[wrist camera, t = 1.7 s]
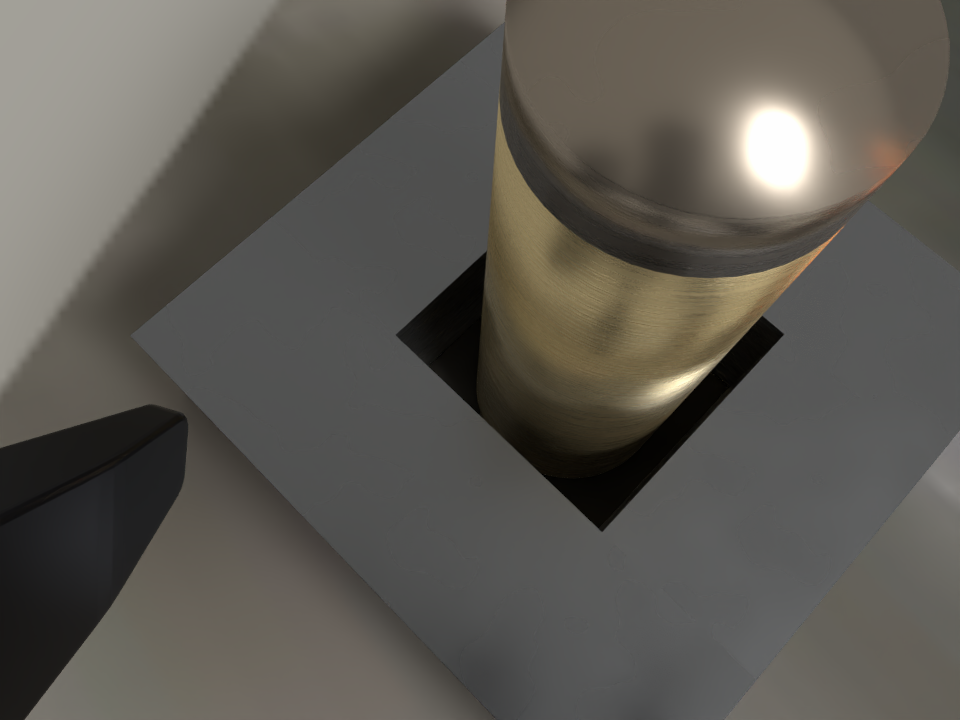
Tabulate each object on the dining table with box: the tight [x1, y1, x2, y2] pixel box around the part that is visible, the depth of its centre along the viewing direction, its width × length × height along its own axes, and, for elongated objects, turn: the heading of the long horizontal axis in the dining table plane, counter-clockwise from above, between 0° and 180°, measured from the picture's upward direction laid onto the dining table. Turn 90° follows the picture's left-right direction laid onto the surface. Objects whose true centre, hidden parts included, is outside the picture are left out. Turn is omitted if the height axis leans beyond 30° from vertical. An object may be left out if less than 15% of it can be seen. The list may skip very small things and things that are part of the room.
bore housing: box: [130, 22, 960, 720], centre depth 21 cm, size 14×14×4 cm
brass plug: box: [476, 0, 950, 479], centre depth 16 cm, size 5×5×14 cm
